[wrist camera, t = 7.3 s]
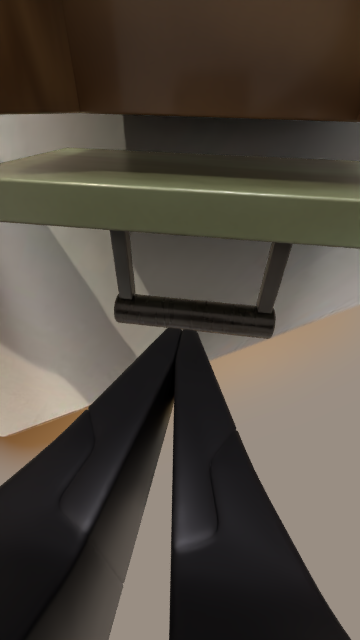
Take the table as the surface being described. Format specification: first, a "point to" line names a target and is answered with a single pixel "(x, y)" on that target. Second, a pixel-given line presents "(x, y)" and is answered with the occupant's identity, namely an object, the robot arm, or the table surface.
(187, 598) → the robot arm
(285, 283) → the table surface
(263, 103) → the drawer
